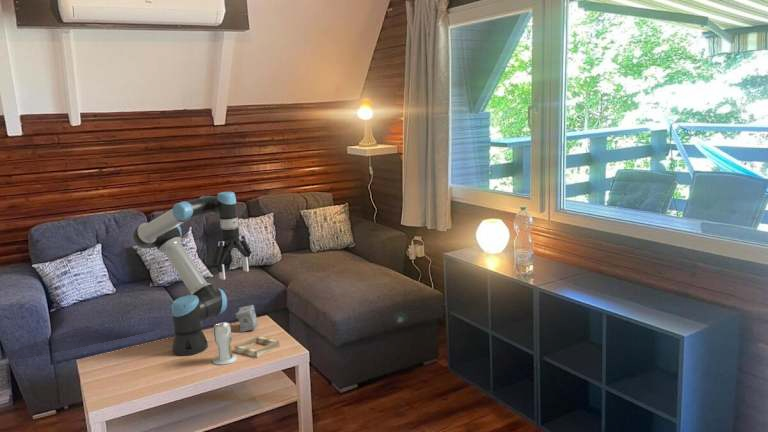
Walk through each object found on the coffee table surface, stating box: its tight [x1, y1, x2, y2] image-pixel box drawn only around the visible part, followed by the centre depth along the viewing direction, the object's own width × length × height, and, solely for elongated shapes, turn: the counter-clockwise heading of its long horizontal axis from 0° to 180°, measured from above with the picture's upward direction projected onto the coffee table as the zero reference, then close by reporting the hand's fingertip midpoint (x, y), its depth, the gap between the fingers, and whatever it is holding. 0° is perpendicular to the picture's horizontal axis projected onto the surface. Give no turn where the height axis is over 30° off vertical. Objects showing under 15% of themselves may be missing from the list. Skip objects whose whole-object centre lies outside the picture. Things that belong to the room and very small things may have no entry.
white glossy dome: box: [212, 353, 238, 366], centre depth 260 cm, size 10×10×1 cm
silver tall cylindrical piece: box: [213, 321, 233, 361], centre depth 259 cm, size 7×7×15 cm
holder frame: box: [234, 335, 281, 358], centre depth 270 cm, size 14×14×2 cm
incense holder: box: [235, 304, 258, 333], centre depth 295 cm, size 10×8×10 cm
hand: (234, 275), depth 269 cm, fingers open, 13 cm apart
